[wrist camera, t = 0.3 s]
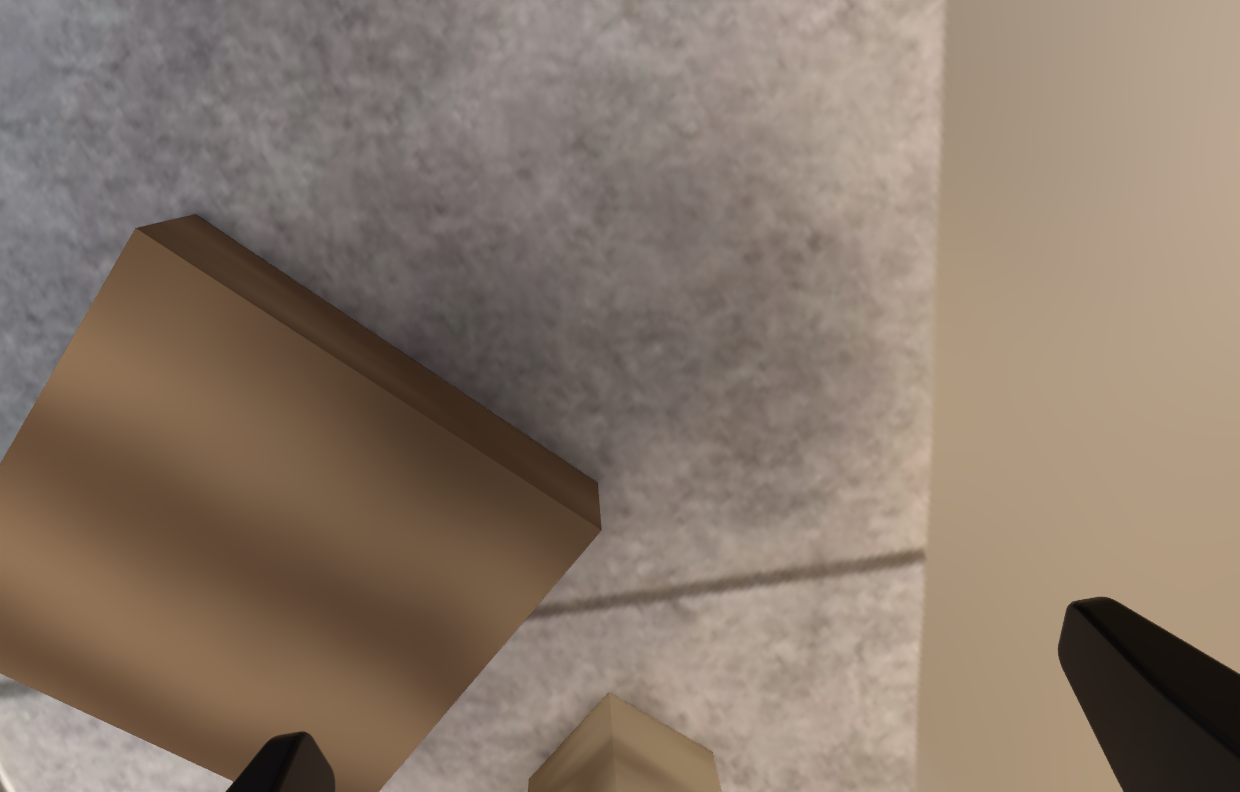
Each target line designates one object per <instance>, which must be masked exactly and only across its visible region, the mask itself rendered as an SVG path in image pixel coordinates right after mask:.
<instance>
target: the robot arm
mask: <svg viewBox="0 0 1240 792" xmlns="http://www.w3.org/2000/svg"><path fill="white" fill-rule="evenodd" d="M1058 656H1059V660H1060V663H1061V666H1062V669H1063V671H1064V672H1065V675H1066V677H1067V679H1068V681H1069V683H1070V685H1071V687H1072V689H1073V691H1074V693H1075V695H1076V697H1077V699H1078V701H1079V703H1080V705H1081V707H1082V709H1083V711H1084V713H1085V715H1086V717H1087V720H1088V721H1089V724H1090V726H1091V728H1092V729H1093V732H1094V734H1095V736H1096V738H1097V740H1098V742H1099V744H1100V746H1101V748H1102V750H1103V752H1104V754H1105V756H1106V758H1107V760H1108V762H1109V764H1110V766H1111V768H1112V770H1113V772H1114V774H1115V776H1116V778H1117V780H1118V782H1119V784H1120V786H1121V788H1122V789H1123V792H1240V674H1239V673H1237V672H1236V671H1234V670H1232V669H1231V668H1229V667H1227V666H1225V665H1224V664H1222V663H1220V662H1219V661H1217V660H1215V659H1214V658H1212V657H1210V656H1209V655H1207V654H1205V653H1204V652H1202V651H1200V650H1198V649H1197V648H1195V647H1193V646H1192V645H1190V644H1188V643H1187V642H1185V641H1183V640H1182V639H1180V638H1178V637H1176V636H1175V635H1173V634H1171V633H1169V632H1168V631H1166V630H1165V629H1163V628H1161V627H1160V626H1158V625H1156V624H1155V623H1153V622H1151V621H1149V620H1147V619H1146V618H1144V617H1142V616H1141V615H1139V614H1137V613H1136V612H1134V611H1132V610H1131V609H1129V608H1127V607H1126V606H1124V605H1122V604H1121V603H1119V602H1117V601H1115V600H1113V599H1111V598H1108V597H1095V598H1089V599H1083V600H1078V601H1073V602H1071V604H1069V605H1068V607H1067V609H1066V613H1065V617H1064V622H1063V626H1062V631H1061V635H1060V640H1059V644H1058ZM226 792H335V776H334V772H333V769H332V767H331V765H330V764H329V762H328V761H327V759H326V757H325V756H324V754H323V753H322V751H321V750H320V748H319V746H318V745H317V743H316V742H315V740H314V738H313V737H312V736H311V735H310V734H309V733H307V732H305V731H300V732H294V733H288V734H282V735H277V736H275V737H273V738H271V739H270V740H269V741H267V742H266V743H265V744H264V745H263V747H262V748H261V749H260V750H259V752H258V753H257V754H256V755H255V756H254V758H253V759H252V760H251V761H250V763H249V764H248V765H247V766H246V767H245V769H244V770H243V771H242V772H241V774H240V775H239V776H238V777H237V778H236V780H235V781H234V782H233V783H232V785H231V786H230V787H229V788H228V790H227V791H226Z"/></svg>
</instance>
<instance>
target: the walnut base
mask: <svg viewBox="0 0 1240 792" xmlns="http://www.w3.org/2000/svg"><path fill="white" fill-rule="evenodd" d="M600 531H601V518H600V506H599V494H598V483H597V482H595V481H594V480H592V479H591V478H589V477H588V476H586V475H585V474H583V473H582V472H580V471H579V470H577V469H576V468H574V467H573V466H571V465H570V464H568V463H567V462H565V461H564V460H562V459H561V458H559V457H558V456H556V455H555V454H553V453H552V452H550V451H549V450H547V449H546V448H544V447H543V446H541V445H540V444H538V443H537V442H535V441H534V440H532V439H531V438H529V437H528V436H526V435H525V434H523V433H522V432H520V431H519V430H517V429H516V428H514V427H513V426H511V425H510V424H508V423H507V422H505V421H504V420H502V419H501V418H499V417H498V416H496V415H495V414H493V413H492V412H490V411H489V410H487V409H486V408H484V407H483V406H481V405H480V404H478V403H477V402H475V401H474V400H472V399H471V398H469V397H468V396H466V395H465V394H463V393H462V392H460V391H459V390H457V389H456V388H454V387H453V386H451V385H450V384H448V383H447V382H445V381H444V380H442V379H441V378H439V377H438V376H436V375H435V374H433V373H432V372H430V371H429V370H427V369H426V368H424V367H423V366H421V365H420V364H418V363H417V362H415V361H414V360H412V359H411V358H409V357H408V356H406V355H405V354H403V353H402V352H400V351H399V350H397V349H396V348H394V347H393V346H391V345H390V344H388V343H387V342H385V341H384V340H382V339H381V338H379V337H378V336H376V335H375V334H373V333H372V332H370V331H369V330H367V329H366V328H364V327H363V326H361V325H360V324H358V323H357V322H355V321H354V320H352V319H351V318H349V317H348V316H346V315H345V314H343V313H342V312H340V311H339V310H338V309H336V308H335V307H333V306H332V305H330V304H329V303H327V302H326V301H324V300H323V299H321V298H320V297H318V296H317V295H315V294H314V293H312V292H311V291H309V290H308V289H306V288H305V287H303V286H302V285H300V284H299V283H297V282H296V281H294V280H293V279H291V278H290V277H288V276H287V275H285V274H284V273H282V272H281V271H279V270H278V269H276V268H275V267H273V266H272V265H270V264H269V263H267V262H266V261H264V260H263V259H261V258H260V257H258V256H257V255H255V254H254V253H252V252H251V251H249V250H248V249H246V248H245V247H243V246H242V245H240V244H239V243H237V242H236V241H234V240H233V239H231V238H230V237H228V236H227V235H225V234H224V233H222V232H221V231H219V230H218V229H216V228H215V227H213V226H212V225H210V224H209V223H207V222H206V221H204V220H203V219H201V218H200V217H198V216H197V215H195V214H194V215H190V216H186V217H181V218H177V219H173V220H168V221H164V222H160V223H156V224H151V225H147V226H143V227H139V228H135V230H134V232H133V234H132V235H131V237H130V239H129V241H128V242H127V244H126V246H125V248H124V249H123V251H122V253H121V255H120V256H119V258H118V260H117V262H116V263H115V265H114V267H113V268H112V270H111V272H110V274H109V275H108V277H107V279H106V281H105V282H104V284H103V286H102V288H101V289H100V291H99V293H98V295H97V296H96V298H95V300H94V302H93V303H92V305H91V307H90V308H89V310H88V312H87V314H86V315H85V317H84V319H83V321H82V322H81V324H80V326H79V328H78V329H77V331H76V333H75V335H74V336H73V338H72V340H71V342H70V343H69V345H68V347H67V349H66V350H65V352H64V354H63V355H62V357H61V359H60V361H59V362H58V364H57V366H56V368H55V369H54V371H53V373H52V375H51V376H50V378H49V380H48V382H47V383H46V385H45V387H44V389H43V390H42V392H41V394H40V396H39V397H38V399H37V401H36V402H35V404H34V406H33V408H32V409H31V411H30V413H29V415H28V416H27V418H26V420H25V422H24V423H23V425H22V427H21V429H20V430H19V432H18V434H17V436H16V437H15V439H14V441H13V442H12V444H11V446H10V448H9V449H8V451H7V453H6V455H5V456H4V458H3V460H2V462H1V463H0V673H1V674H3V675H5V676H7V677H9V678H12V679H14V680H16V681H18V682H20V683H22V684H25V685H27V686H29V687H31V688H33V689H35V690H37V691H40V692H42V693H44V694H46V695H48V696H50V697H53V698H55V699H57V700H59V701H61V702H63V703H66V704H68V705H70V706H72V707H74V708H76V709H78V710H81V711H83V712H85V713H87V714H89V715H91V716H94V717H96V718H98V719H100V720H102V721H104V722H107V723H109V724H111V725H113V726H115V727H117V728H119V729H122V730H124V731H126V732H128V733H130V734H132V735H135V736H137V737H139V738H141V739H143V740H145V741H148V742H150V743H152V744H154V745H156V746H158V747H160V748H163V749H165V750H167V751H169V752H171V753H173V754H176V755H178V756H180V757H182V758H184V759H186V760H189V761H191V762H193V763H195V764H197V765H199V766H201V767H204V768H206V769H208V770H210V771H212V772H214V773H217V774H219V775H221V776H223V777H225V778H227V779H230V780H232V781H235V780H236V778H237V777H238V776H239V775H240V774H241V772H242V771H243V770H244V769H245V767H246V766H247V765H248V764H249V763H250V761H251V760H252V759H253V758H254V756H255V755H256V754H257V753H258V752H259V750H260V749H261V748H262V747H263V745H264V744H265V743H266V742H267V741H269V740H270V739H271V738H273V737H275V736H277V735H282V734H288V733H294V732H300V731H305V732H307V733H309V734H310V735H311V736H312V737H313V738H314V740H315V742H316V743H317V745H318V746H319V748H320V750H321V751H322V753H323V754H324V756H325V757H326V759H327V761H328V762H329V764H330V765H331V767H332V769H333V772H334V776H335V792H379V791H380V789H381V788H382V787H383V786H384V785H385V784H386V782H387V781H388V780H389V779H390V778H391V777H392V775H393V774H394V773H395V772H396V771H397V769H398V768H399V767H400V766H401V765H402V764H403V762H404V761H405V760H406V759H407V758H408V757H409V755H410V754H411V753H412V752H413V751H414V750H415V748H416V747H417V746H418V745H419V744H420V743H421V741H422V740H423V739H424V738H425V737H426V735H427V734H428V733H429V732H430V731H431V730H432V728H433V727H434V726H435V725H436V724H437V723H438V721H439V720H440V719H441V718H442V717H443V716H444V714H445V713H446V712H447V711H448V710H449V709H450V707H451V706H452V705H453V704H454V703H455V701H456V700H457V699H458V698H459V697H460V696H461V694H462V693H463V692H464V691H465V690H466V689H467V687H468V686H469V685H470V684H471V683H472V682H473V680H474V679H475V678H476V677H477V676H478V674H479V673H480V672H481V671H482V670H483V669H484V667H485V666H486V665H487V664H488V663H489V662H490V660H491V659H492V658H493V657H494V656H495V655H496V653H497V652H498V651H499V650H500V649H501V648H502V646H503V645H504V644H505V643H506V642H507V640H508V639H509V638H510V637H511V636H512V635H513V633H514V632H515V631H516V630H517V629H518V628H519V626H520V625H521V624H522V623H523V622H524V621H525V619H526V618H527V617H528V616H529V615H530V613H531V612H532V611H533V610H534V609H535V608H536V606H537V605H538V604H539V603H540V602H541V601H542V599H543V598H544V597H545V596H546V595H547V594H548V592H549V591H550V590H551V589H552V588H553V587H554V585H555V584H556V583H557V582H558V581H559V579H560V578H561V577H562V576H563V575H564V574H565V572H566V571H567V570H568V569H569V568H570V567H571V565H572V564H573V563H574V562H575V561H576V560H577V558H578V557H579V556H580V555H581V554H582V553H583V551H584V550H585V549H586V548H587V547H588V545H589V544H590V543H591V542H592V541H593V540H594V538H595V537H596V536H597V535H598V534H599V533H600Z"/></svg>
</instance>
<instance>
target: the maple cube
mask: <svg viewBox="0 0 1240 792" xmlns="http://www.w3.org/2000/svg"><path fill="white" fill-rule="evenodd" d="M528 792H722V791H721V787H720V782H719V778H718V774H717V769H716V765H715V761H714V756H713V752H711V751H710V750H708V749H706V748H705V747H703V746H701V745H699V744H698V743H696V742H694V741H692V740H691V739H689V738H687V737H686V736H684V735H682V734H680V733H679V732H677V731H675V730H673V729H672V728H670V727H668V726H667V725H665V724H663V723H661V722H660V721H658V720H656V719H654V718H653V717H651V716H649V715H648V714H646V713H644V712H642V711H641V710H639V709H637V708H635V707H634V706H632V705H630V704H629V703H627V702H625V701H623V700H622V699H620V698H618V697H616V696H615V695H613V694H611V693H610V692H609V693H608V694H607V695H606V696H605V697H604V698H603V699H602V701H601V702H600V703H599V704H598V705H597V706H596V707H595V708H594V709H593V710H592V711H591V713H590V714H589V715H588V716H587V717H586V718H585V719H584V720H583V721H582V722H581V723H580V724H579V726H578V727H577V728H576V729H575V730H574V731H573V732H572V733H571V734H570V735H569V736H568V737H567V739H566V740H565V741H564V742H563V743H562V744H561V745H560V746H559V747H558V748H557V749H556V751H555V752H554V753H553V754H552V755H551V756H550V757H549V758H548V759H547V760H546V761H545V762H544V764H543V765H542V766H541V767H540V768H539V769H538V770H537V771H536V772H535V773H534V774H533V775H532V777H531V778H530V779H529V786H528Z"/></svg>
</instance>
